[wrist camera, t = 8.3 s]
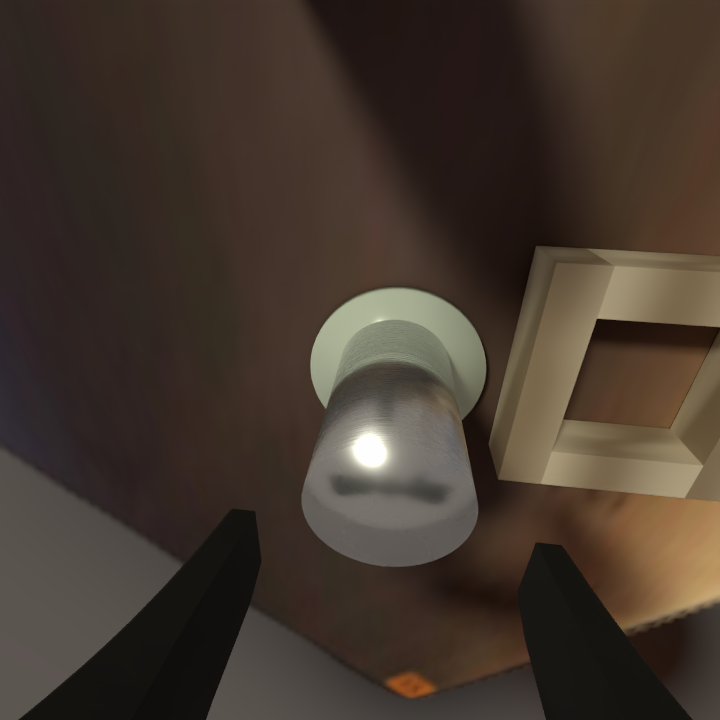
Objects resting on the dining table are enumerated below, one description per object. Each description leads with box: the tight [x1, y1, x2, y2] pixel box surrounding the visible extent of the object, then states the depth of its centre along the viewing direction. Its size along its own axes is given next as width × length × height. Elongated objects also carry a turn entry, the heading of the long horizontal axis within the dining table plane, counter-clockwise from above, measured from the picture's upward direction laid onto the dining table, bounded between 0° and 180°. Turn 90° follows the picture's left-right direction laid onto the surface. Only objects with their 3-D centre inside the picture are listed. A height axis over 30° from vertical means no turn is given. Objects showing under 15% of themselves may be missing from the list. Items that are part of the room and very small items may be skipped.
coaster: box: [311, 286, 486, 420], centre depth 19 cm, size 8×8×1 cm
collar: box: [489, 246, 720, 502], centre depth 17 cm, size 10×10×2 cm
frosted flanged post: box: [302, 320, 478, 567], centre depth 15 cm, size 5×5×8 cm
